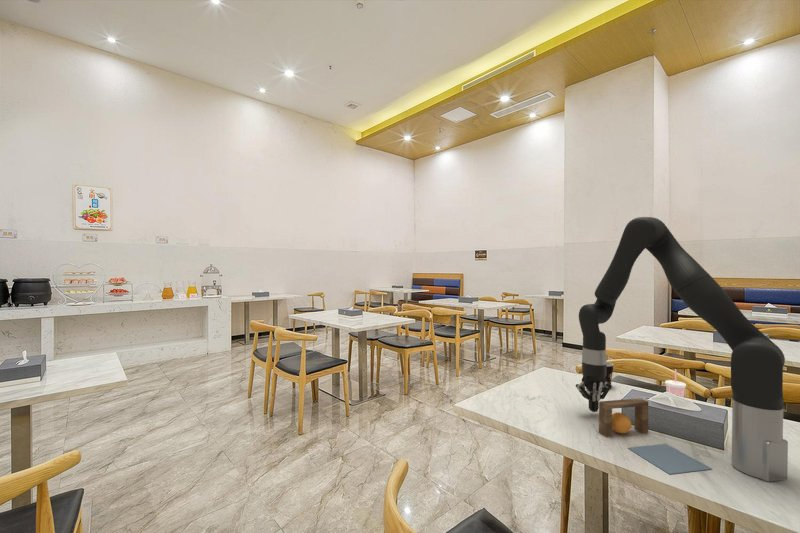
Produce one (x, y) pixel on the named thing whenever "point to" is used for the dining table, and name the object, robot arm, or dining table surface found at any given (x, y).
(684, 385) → the beverage cup
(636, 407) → the bridge
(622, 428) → the ball
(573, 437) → the dining table surface
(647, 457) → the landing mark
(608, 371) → the coffee mug
